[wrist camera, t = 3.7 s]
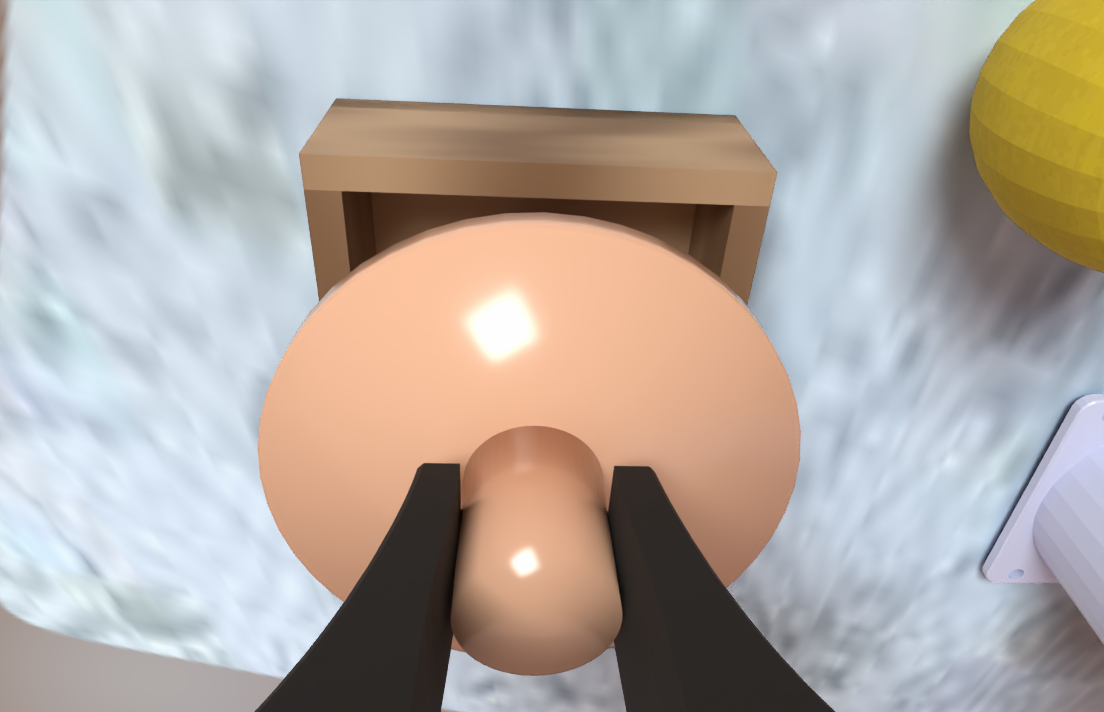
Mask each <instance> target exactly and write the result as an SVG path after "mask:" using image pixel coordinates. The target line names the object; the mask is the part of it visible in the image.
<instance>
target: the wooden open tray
mask: <svg viewBox="0 0 1104 712" xmlns="http://www.w3.org/2000/svg"><path fill="white" fill-rule="evenodd" d="M299 158H300V165H301V172H302V180H303V187H304V194H305V201H306V209H307V216H308V223H309V230H310V238H311V245H312V252H313V259H314V267H315V274H316V281H317V288H318V296H319V301H320V300H321V299H322V298H323V297H324V296H325V295H326V294H327V293H328V291H329V290H330V289H331V288H332V287H333V286H334V285H336V284H337V283H338V282H339V281H340V280H342V279H343V278H344V277H345V276H347V275H348V274H349V273H350V272H351V271H353V270H354V269H355V268H356V267H358V266H359V265H360V264H362V263H363V262H365V261H367V260H368V259H370V258H372V257H373V256H375V255H377V254H378V253H380V252H382V251H383V250H385V249H387V248H388V247H390V246H392V245H394V244H396V243H398V242H401V241H403V240H405V239H408V238H410V237H412V236H415V235H417V234H419V233H422V232H424V231H426V230H429V229H433V228H436V227H440V226H443V225H447V224H450V223H454V222H457V221H461V220H464V219H470V218H477V217H484V216H490V215H497V214H504V213H538V212H547V213H557V214H567V215H576V216H585V217H590V218H594V219H598V220H603V221H607V222H611V223H616V224H620V225H624V226H626V227H629V228H632V229H634V230H637V231H640V232H642V233H645V234H648V235H651V236H653V237H656V238H659V239H660V240H662V241H664V242H666V243H668V244H670V245H672V246H673V247H675V248H677V249H679V250H681V251H683V252H685V253H686V254H688V255H690V256H692V257H693V258H694V259H696V260H697V261H698V262H700V263H701V264H703V265H704V266H705V267H707V268H708V269H709V270H711V271H712V272H713V273H715V274H716V275H717V276H719V277H720V278H721V279H722V280H723V281H724V282H725V283H726V284H727V285H728V286H729V287H730V288H731V289H732V290H733V291H734V292H735V293H736V294H737V295H738V296H739V297H740V298H741V299H742V300H743V301H744V303H745V304H746V306H747V303H748V299H749V294H750V290H751V286H752V281H753V277H754V273H755V268H756V264H757V259H758V255H759V251H760V246H761V242H762V237H763V233H764V229H765V224H766V220H767V216H768V211H769V207H770V202H771V198H772V194H773V189H774V185H775V181H776V176H777V171H776V170H775V168H774V167H773V166H772V164H771V163H770V162H769V160H768V159H767V158H766V156H765V155H764V154H763V152H762V151H761V150H760V148H759V147H758V145H757V144H756V143H755V141H754V140H753V139H752V137H751V136H750V135H749V133H748V132H747V131H746V129H745V128H744V127H743V125H742V124H741V123H740V121H739V120H738V119H737V117H736V116H734V115H710V114H687V113H664V112H640V111H617V110H594V109H570V108H547V107H524V106H500V105H477V104H454V103H430V102H407V101H384V100H360V99H337V98H336V100H335V101H334V103H333V104H332V106H331V107H330V109H329V110H328V112H327V113H326V115H325V116H324V117H323V119H322V120H321V122H320V123H319V125H318V126H317V128H316V129H315V131H314V132H313V134H312V135H311V137H310V138H309V140H308V141H307V143H306V144H305V146H304V147H303V148H302V150H301V151H300V153H299Z"/></svg>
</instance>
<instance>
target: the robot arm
mask: <svg viewBox="0 0 1104 712" xmlns="http://www.w3.org/2000/svg"><path fill="white" fill-rule="evenodd" d="M460 516H461V485H460V463H423V464H422V465H421V466H419V467H418V468H417V471H416V474H415V476H414V479H413V482H412V484H411V486H410V489H409V491H408V493H407V495H406V498H405V500H404V502H403V504H402V506H401V508H400V510H399V512H398V514H397V516H396V518H395V520H394V522H393V524H392V525H391V527H390V529H389V531H388V532H387V534H386V536H385V538H384V539H383V541H382V543H381V545H380V546H379V548H378V550H377V552H376V553H375V555H374V557H373V559H372V560H371V562H370V563H369V565H368V567H367V568H366V570H365V571H364V573H363V574H362V576H361V577H360V579H359V580H358V582H357V583H356V585H355V586H354V588H353V589H352V591H351V592H350V594H349V596H348V597H347V599H346V600H345V602H344V603H343V604H342V606H341V607H340V609H339V610H338V611H337V613H336V614H335V616H334V617H333V618H332V620H331V621H330V622H329V624H328V625H327V627H326V628H325V629H324V631H323V632H322V633H321V634H320V636H319V637H318V638H317V640H316V641H315V642H314V643H313V645H312V646H311V647H310V648H309V650H308V651H307V652H306V653H305V655H304V656H303V657H302V658H301V659H300V661H299V662H298V663H297V664H296V665H295V667H294V668H293V669H292V670H291V671H290V672H289V674H288V675H287V676H286V677H285V678H284V679H283V681H282V682H281V683H280V684H279V685H278V687H277V688H276V689H275V690H274V691H273V692H272V693H271V694H270V696H269V697H268V698H267V699H266V700H265V701H264V702H263V703H262V704H261V705H260V706H259V708H258V709H257V710H256V711H255V712H441V706H442V700H443V694H444V688H445V682H446V676H447V670H448V664H449V658H450V652H451V645H452V639H453V631H452V628H451V608H452V598H453V587H454V576H455V565H456V558H457V549H458V538H459V527H460ZM608 518H609V525H610V531H611V538H612V545H613V552H614V559H615V565H616V572H617V579H618V586H619V593H620V599H621V606H622V623H621V627H620V630H619V632H618V634H617V636H616V638H615V639H614V645H615V651H616V656H617V662H618V667H619V673H620V678H621V684H622V689H623V694H624V700H625V705H626V711H627V712H835V711H834V710H833V709H832V708H831V707H830V706H829V705H828V704H827V703H826V702H825V701H824V700H823V699H821V698H820V697H819V696H818V695H817V694H816V693H815V692H814V691H813V690H812V689H811V688H810V687H809V686H808V685H807V684H806V683H805V682H804V681H803V680H802V678H801V677H800V676H799V675H798V674H797V673H796V672H795V671H794V670H793V669H792V668H791V667H790V665H789V664H788V663H787V662H786V661H785V660H784V659H783V658H782V657H781V656H780V655H779V653H778V652H777V651H776V650H775V649H774V648H773V646H772V645H771V644H770V643H769V642H768V641H767V640H766V638H765V637H764V636H763V635H762V634H761V632H760V631H759V630H758V629H757V628H756V626H755V625H754V624H753V623H752V621H751V620H750V619H749V618H748V616H747V615H746V614H745V613H744V611H743V610H742V609H741V607H740V606H739V605H738V603H737V602H736V601H735V599H734V598H733V597H732V595H731V594H730V593H729V591H728V590H727V589H726V587H725V586H724V585H723V583H722V582H721V580H720V579H719V578H718V576H717V575H716V573H715V572H714V571H713V569H712V568H711V566H710V565H709V563H708V562H707V560H706V559H705V557H704V555H703V554H702V552H701V551H700V549H699V548H698V546H697V545H696V543H695V542H694V540H693V539H692V537H691V536H690V534H689V532H688V531H687V529H686V528H685V526H684V524H683V522H682V521H681V519H680V517H679V516H678V514H677V512H676V511H675V509H674V507H673V505H672V504H671V502H670V500H669V498H668V496H667V495H666V493H665V491H664V489H663V487H662V485H661V483H660V481H659V479H658V477H657V475H656V473H655V471H654V470H653V469H652V468H651V467H650V466H614V470H613V478H612V485H611V493H610V500H609V508H608ZM982 571H983V573H984V575H985V577H986V578H987V580H989V581H990V582H994V583H1060V584H1061V585H1062V587H1063V588H1064V589H1065V591H1066V592H1067V594H1068V595H1069V596H1070V598H1071V599H1072V601H1073V602H1074V603H1075V605H1076V606H1077V608H1078V609H1079V611H1080V612H1081V613H1082V615H1083V616H1084V618H1085V619H1086V620H1087V622H1088V623H1089V625H1090V626H1091V627H1092V629H1093V630H1094V632H1095V633H1096V634H1097V636H1098V637H1099V639H1100V640H1101V641H1102V643H1103V644H1104V394H1090V395H1086V396H1083V397H1081V398H1080V399H1078V400H1077V401H1075V403H1074V404H1073V405H1072V407H1071V408H1070V410H1069V412H1068V414H1067V416H1066V417H1065V419H1064V421H1063V423H1062V425H1061V426H1060V428H1059V430H1058V432H1057V434H1056V435H1055V437H1054V439H1053V441H1052V443H1051V444H1050V446H1049V448H1048V450H1047V452H1046V453H1045V455H1044V457H1043V459H1042V461H1041V462H1040V464H1039V466H1038V468H1037V470H1036V471H1035V473H1034V475H1033V477H1032V479H1031V480H1030V482H1029V484H1028V486H1027V488H1026V489H1025V491H1024V493H1023V495H1022V497H1021V498H1020V500H1019V502H1018V504H1017V506H1016V507H1015V509H1014V511H1013V513H1012V515H1011V516H1010V518H1009V520H1008V522H1007V524H1006V525H1005V527H1004V529H1003V531H1002V533H1001V534H1000V536H999V538H998V540H997V542H996V543H995V545H994V547H993V549H992V551H991V552H990V554H989V556H988V558H987V560H986V561H985V563H984V565H983V568H982Z"/></svg>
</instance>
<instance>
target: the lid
mask: <svg viewBox="0 0 1104 712" xmlns="http://www.w3.org/2000/svg"><path fill="white" fill-rule="evenodd" d="M800 435H801V431H800V424H799V416H798V409H797V403H796V399H795V396H794V393H793V390H792V387H791V384H790V380H789V377H788V374H787V373H786V371H785V369H784V367H783V365H782V363H781V361H780V359H779V357H778V355H777V353H776V351H775V349H774V347H773V345H772V344H771V342H770V340H769V338H768V337H767V335H766V333H765V331H764V330H763V328H762V326H761V325H760V323H759V322H758V320H757V319H756V318H755V316H754V315H753V314H752V312H751V311H750V310H749V308H748V307H747V306H746V304H745V303H744V301H743V300H742V299H741V298H740V297H739V296H738V295H737V294H736V293H735V292H734V291H733V290H732V289H731V288H730V287H729V286H728V285H727V284H726V283H725V282H724V281H723V280H722V279H721V278H720V277H719V276H717V275H716V274H715V273H713V272H712V271H711V270H709V269H708V268H707V267H705V266H704V265H703V264H701V263H700V262H698V261H697V260H696V259H694V258H693V257H692V256H690V255H688V254H686V253H685V252H683V251H681V250H679V249H677V248H675V247H673V246H672V245H670V244H668V243H666V242H664V241H662V240H660V239H659V238H656V237H653V236H651V235H648V234H645V233H642V232H640V231H637V230H634V229H632V228H629V227H626V226H624V225H620V224H616V223H611V222H607V221H603V220H598V219H594V218H590V217H585V216H576V215H567V214H557V213H547V212H538V213H504V214H497V215H490V216H484V217H477V218H470V219H464V220H461V221H457V222H454V223H450V224H447V225H443V226H440V227H436V228H433V229H429V230H426V231H424V232H422V233H419V234H417V235H415V236H412V237H410V238H408V239H405V240H403V241H401V242H398V243H396V244H394V245H392V246H390V247H388V248H387V249H385V250H383V251H382V252H380V253H378V254H377V255H375V256H373V257H372V258H370V259H368V260H367V261H365V262H363V263H362V264H360V265H359V266H358V267H356V268H355V269H354V270H353V271H351V272H350V273H349V274H348V275H347V276H345V277H344V278H343V279H342V280H340V281H339V282H338V283H337V284H336V285H334V286H333V287H332V288H331V289H330V290H329V291H328V293H327V294H326V295H325V296H324V297H323V298H322V299H321V300H320V301H319V302H318V304H317V305H316V306H315V307H314V308H313V309H312V310H311V311H310V313H309V314H308V316H307V317H306V319H305V320H304V322H303V323H302V325H301V326H300V328H299V329H298V331H297V332H296V334H295V335H294V337H293V338H292V340H291V342H290V344H289V346H288V348H287V350H286V352H285V354H284V356H283V358H282V360H281V362H280V364H279V366H278V369H277V371H276V373H275V375H274V377H273V380H272V382H271V384H270V386H269V389H268V391H267V395H266V399H265V403H264V407H263V411H262V414H261V418H260V427H259V440H258V457H259V467H260V478H261V481H262V485H263V489H264V493H265V496H266V500H267V504H268V506H269V509H270V511H271V513H272V515H273V518H274V520H275V522H276V525H277V527H278V529H279V531H280V532H281V534H282V536H283V537H284V539H285V540H286V542H287V543H288V545H289V547H290V548H291V550H292V551H293V553H294V554H295V555H296V557H297V558H298V559H299V560H300V561H301V563H302V564H303V565H304V566H305V567H306V568H307V570H308V571H309V572H310V573H311V574H312V575H313V576H314V577H315V578H316V579H317V580H318V581H319V582H320V583H321V584H322V585H324V586H325V587H326V588H327V589H328V590H329V591H330V592H331V593H332V594H334V595H335V596H336V597H338V598H339V599H340V600H342V601H343V602H345V600H346V599H347V597H348V596H349V594H350V592H351V591H352V589H353V588H354V586H355V585H356V583H357V582H358V580H359V579H360V577H361V576H362V574H363V573H364V571H365V570H366V568H367V567H368V565H369V563H370V562H371V560H372V559H373V557H374V555H375V553H376V552H377V550H378V548H379V546H380V545H381V543H382V541H383V539H384V538H385V536H386V534H387V532H388V531H389V529H390V527H391V525H392V524H393V522H394V520H395V518H396V516H397V514H398V512H399V510H400V508H401V506H402V504H403V502H404V500H405V498H406V495H407V493H408V491H409V489H410V486H411V484H412V482H413V479H414V476H415V474H416V471H417V468H418V467H419V466H421V465H422V464H423V463H460V485H461V516H460V527H459V538H458V549H457V558H456V565H455V576H454V587H453V598H452V608H451V628H452V631H453V639H452V645H451V649H453V650H457V651H462V652H467V653H468V654H469V655H470V656H471V657H473V658H474V659H475V660H477V661H479V662H480V663H482V664H484V665H486V666H488V667H490V668H493V669H496V670H499V671H502V672H506V673H511V674H518V675H530V676H537V675H549V674H556V673H561V672H565V671H568V670H572V669H575V668H577V667H580V666H582V665H584V664H586V663H588V662H590V661H592V660H593V659H595V658H596V657H598V656H599V655H601V654H602V653H603V652H604V651H605V650H606V649H607V648H608V647H611V646H614V639H615V638H616V636H617V634H618V632H619V630H620V627H621V623H622V606H621V599H620V593H619V586H618V579H617V572H616V565H615V559H614V552H613V545H612V538H611V531H610V525H609V518H608V508H609V500H610V493H611V485H612V478H613V470H614V466H650V467H651V468H652V469H653V470H654V471H655V473H656V475H657V477H658V479H659V481H660V483H661V485H662V487H663V489H664V491H665V493H666V495H667V496H668V498H669V500H670V502H671V504H672V505H673V507H674V509H675V511H676V512H677V514H678V516H679V517H680V519H681V521H682V522H683V524H684V526H685V528H686V529H687V531H688V532H689V534H690V536H691V537H692V539H693V540H694V542H695V543H696V545H697V546H698V548H699V549H700V551H701V552H702V554H703V555H704V557H705V559H706V560H707V562H708V563H709V565H710V566H711V568H712V569H713V571H714V572H715V573H716V575H717V576H718V578H719V579H720V580H721V582H722V583H723V585H724V586H725V587H728V586H729V585H730V584H731V583H732V582H734V581H735V580H736V579H737V578H738V577H739V576H740V575H741V574H742V573H743V572H744V571H745V570H746V568H747V567H748V566H749V565H750V564H751V563H752V562H753V561H754V560H755V559H756V558H757V556H758V555H759V554H760V552H761V551H762V549H763V548H764V547H765V545H766V544H767V543H768V541H769V540H770V538H771V537H772V535H773V534H774V532H775V530H776V528H777V526H778V524H779V522H780V521H781V519H782V517H783V515H784V513H785V511H786V508H787V505H788V503H789V500H790V497H791V494H792V492H793V489H794V486H795V481H796V476H797V471H798V466H799V461H800Z"/></svg>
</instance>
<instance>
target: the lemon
mask: <svg viewBox="0 0 1104 712" xmlns="http://www.w3.org/2000/svg"><path fill="white" fill-rule="evenodd" d="M969 134H970V141H971V145H972V149H973V154H974V158H975V162H976V166H977V169H978V172H979V174H980V176H981V178H982V180H983V181H984V183H985V185H986V186H987V188H988V189H989V191H990V193H991V194H992V196H993V197H994V199H995V201H996V202H997V204H998V205H999V207H1000V208H1001V210H1002V211H1003V212H1004V213H1005V214H1006V215H1007V216H1008V218H1009V219H1011V220H1012V221H1013V222H1014V223H1015V224H1016V225H1017V226H1019V227H1020V228H1021V229H1022V230H1024V231H1025V232H1026V233H1028V234H1029V235H1030V236H1032V237H1033V238H1034V239H1036V240H1037V241H1038V242H1040V243H1041V244H1042V245H1044V246H1045V247H1047V248H1048V249H1050V250H1051V251H1053V252H1055V253H1056V254H1058V255H1060V256H1062V257H1064V258H1066V259H1068V260H1070V261H1073V262H1075V263H1077V264H1079V265H1082V266H1085V267H1088V268H1091V269H1094V270H1097V271H1100V272H1103V273H1104V0H1035V1H1034V2H1033V3H1032V4H1030V5H1029V6H1028V7H1027V8H1026V9H1024V10H1023V11H1022V12H1021V13H1020V14H1019V15H1018V16H1017V17H1016V19H1015V20H1014V21H1013V22H1012V23H1011V25H1010V26H1009V27H1008V28H1007V29H1006V31H1005V32H1004V33H1003V34H1002V35H1001V37H1000V38H999V39H998V40H997V42H996V44H995V46H994V47H993V49H992V51H991V53H990V55H989V56H988V58H987V60H986V62H985V64H984V65H983V67H982V69H981V72H980V75H979V78H978V81H977V84H976V88H975V91H974V94H973V97H972V102H971V113H970V129H969Z"/></svg>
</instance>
